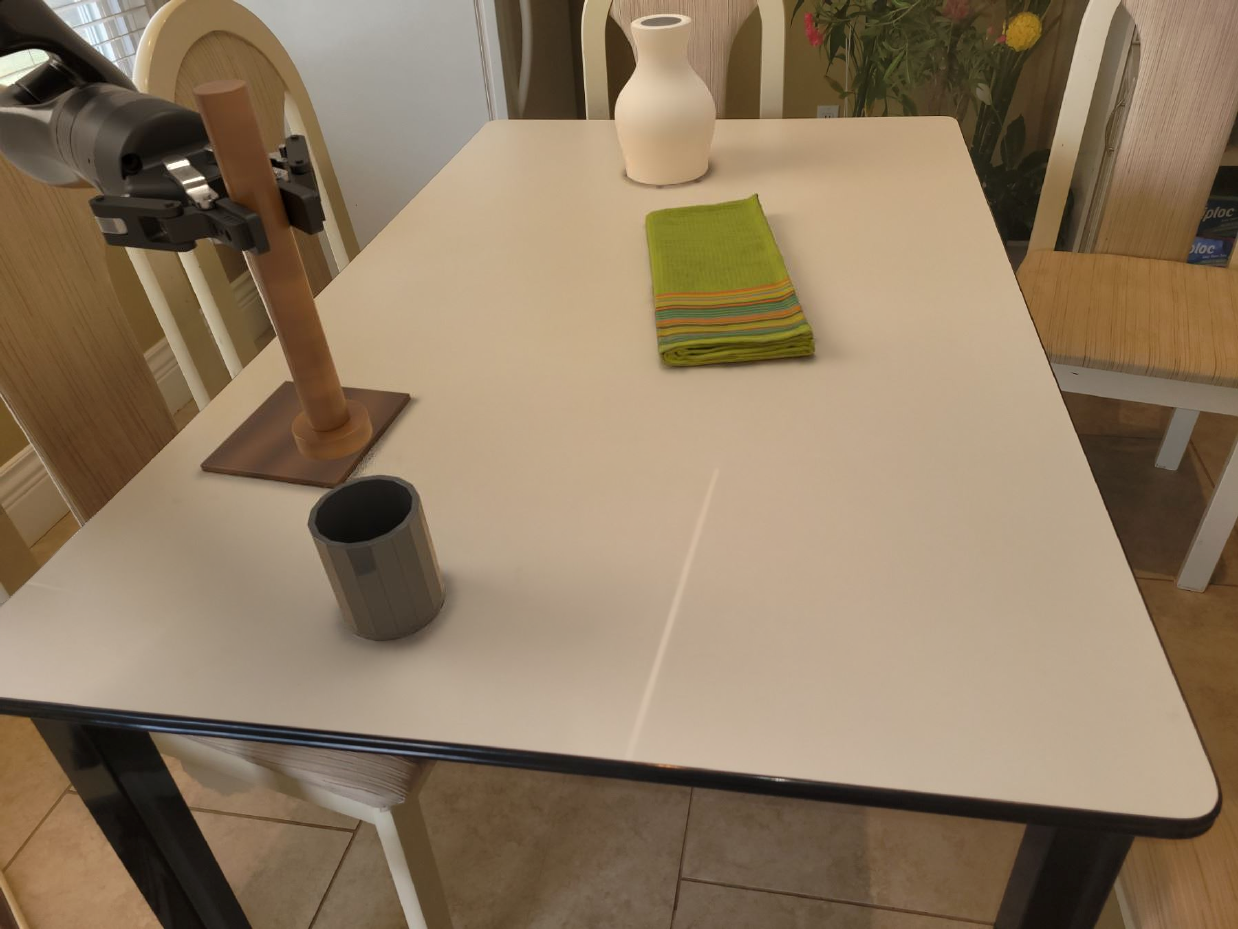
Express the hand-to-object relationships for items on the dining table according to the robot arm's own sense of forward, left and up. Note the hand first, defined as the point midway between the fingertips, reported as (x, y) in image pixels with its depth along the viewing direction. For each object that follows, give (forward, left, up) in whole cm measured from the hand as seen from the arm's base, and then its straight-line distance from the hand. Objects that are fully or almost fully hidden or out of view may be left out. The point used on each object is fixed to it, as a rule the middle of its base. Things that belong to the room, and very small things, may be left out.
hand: (287, 225), depth 47 cm
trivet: (-19, +18, -29) cm, 39 cm away
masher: (-3, +1, -15) cm, 16 cm away
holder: (-1, 0, -29) cm, 29 cm away
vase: (-1, +87, -29) cm, 92 cm away
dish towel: (+13, +53, -29) cm, 62 cm away
